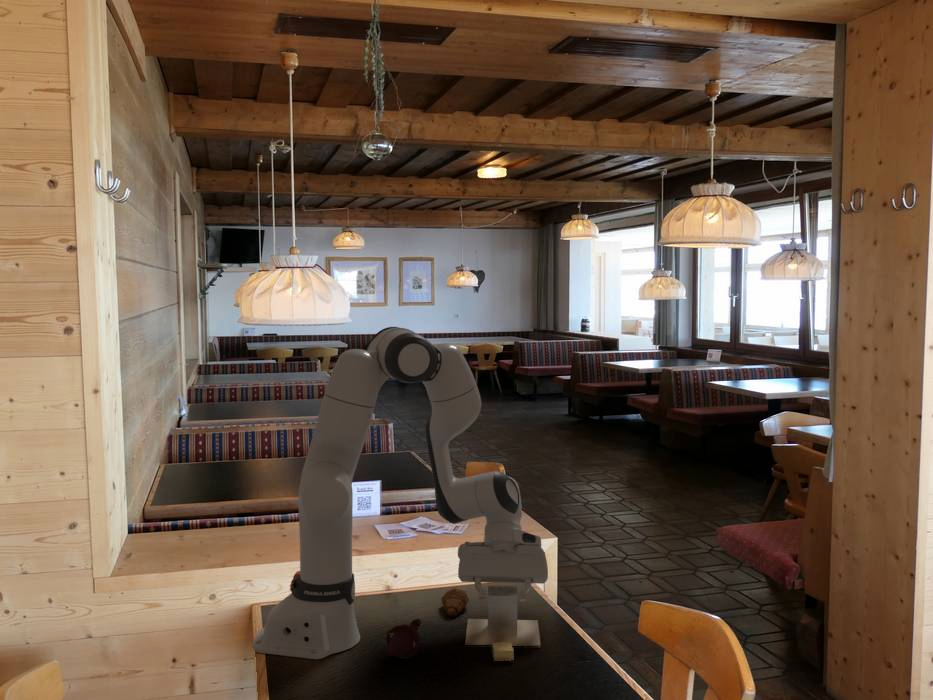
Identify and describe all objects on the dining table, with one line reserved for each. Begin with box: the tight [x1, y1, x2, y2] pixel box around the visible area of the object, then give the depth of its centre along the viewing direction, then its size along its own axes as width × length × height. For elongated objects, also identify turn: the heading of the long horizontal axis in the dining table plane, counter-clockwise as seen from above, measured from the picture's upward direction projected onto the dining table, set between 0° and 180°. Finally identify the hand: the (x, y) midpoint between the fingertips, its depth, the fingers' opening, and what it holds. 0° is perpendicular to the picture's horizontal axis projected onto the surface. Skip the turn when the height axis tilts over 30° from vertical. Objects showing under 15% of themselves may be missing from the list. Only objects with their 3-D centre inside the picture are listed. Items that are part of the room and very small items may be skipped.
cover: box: [487, 584, 518, 637], centre depth 176 cm, size 6×6×9 cm
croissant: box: [440, 587, 470, 618], centre depth 190 cm, size 14×7×5 cm, turn 173°
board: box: [464, 618, 541, 648], centre depth 175 cm, size 16×13×1 cm
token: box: [491, 642, 515, 662], centre depth 164 cm, size 4×4×2 cm
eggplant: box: [385, 618, 422, 659], centre depth 164 cm, size 7×7×15 cm
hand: (502, 599), depth 175 cm, fingers open, 8 cm apart
